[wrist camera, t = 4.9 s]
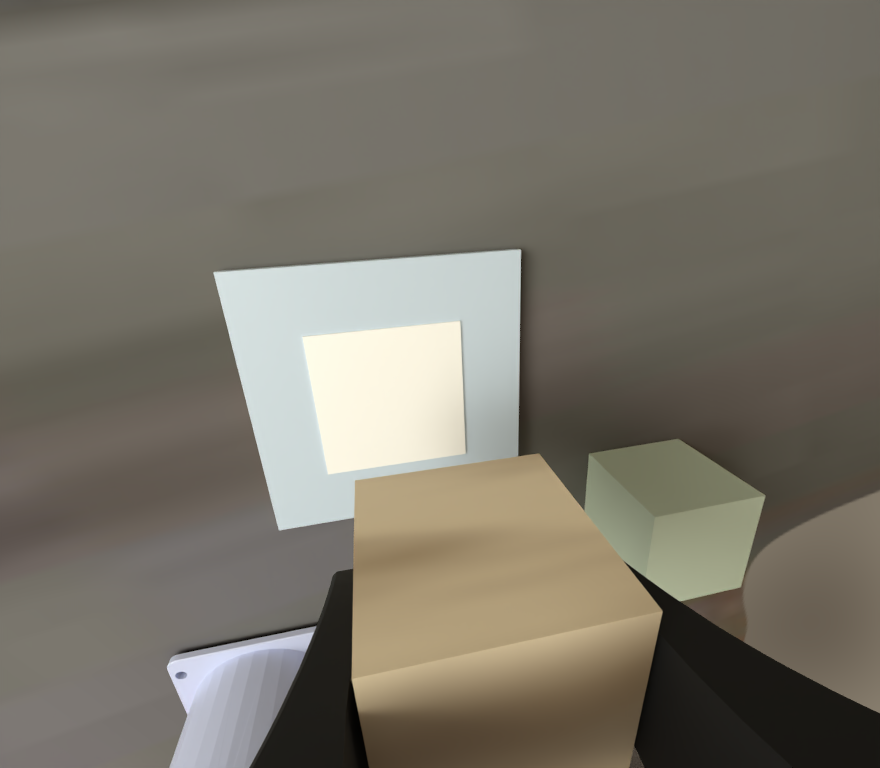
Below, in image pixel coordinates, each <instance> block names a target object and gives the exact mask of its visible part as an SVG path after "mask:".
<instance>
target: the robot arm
mask: <svg viewBox="0 0 880 768" xmlns="http://www.w3.org/2000/svg"><path fill="white" fill-rule="evenodd" d="M624 562H625V561H624ZM625 564H626V565H627V566H628V567H629V569H630V570H631V571H632V573H633V574H634V575H635V576H636V578H637V579H638V580H639V582H640V583H641V584H642V585H643V587H644V588H645V589H646V590H647V592H648V593H649V594H650V596H651V597H652V598H653V599H654V601H655V602H656V603H657V604H658V606H659V607H660V608H661V610H662V611H663V612H662V617H661V622H660V626H659V631H658V636H657V640H656V645H655V650H654V654H653V659H652V664H651V668H650V673H649V678H648V682H647V687H646V692H645V696H644V701H643V706H642V710H641V715H640V720H639V724H638V729H637V734H636V738H635V743H634V746H635V748H636V750H637V752H638V754H639V756H640V758H641V761H642V763H643V765H644V767H645V768H880V713H878V712H876V711H873V710H871V709H869V708H867V707H865V706H863V705H861V704H859V703H857V702H855V701H853V700H851V699H848V698H846V697H844V696H842V695H840V694H838V693H836V692H834V691H832V690H830V689H828V688H826V687H824V686H823V685H820V684H819V683H817V682H815V681H813V680H811V679H809V678H807V677H805V676H803V675H802V674H800V673H798V672H796V671H794V670H792V669H790V668H788V667H786V666H785V665H783V664H781V663H779V662H777V661H775V660H774V659H772V658H770V657H768V656H766V655H765V654H763V653H761V652H760V651H758V650H756V649H755V648H752V647H751V646H749V645H748V644H746V643H744V642H743V641H741V640H739V639H738V638H736V637H734V636H732V635H731V634H729V633H727V632H726V631H724V630H723V629H721V628H719V627H718V626H716V625H715V624H713V623H711V622H710V621H708V620H707V619H705V618H704V617H702V616H701V615H699V614H698V613H696V612H695V611H693V610H692V609H690V608H689V607H687V606H686V605H684V604H683V603H681V602H680V601H678V600H677V599H675V598H674V597H673V596H671V595H670V594H668V593H667V592H665V591H664V590H663V589H661V588H660V587H658V586H657V585H656V584H654V583H653V582H651V581H650V580H649V579H647V578H646V577H645V576H643V575H642V574H641V573H639V572H638V571H636V570H635V569H634V568H632V567H631V566H630V565H628V564H627V563H626V562H625ZM352 627H353V569H350V570H344V571H338V572H336V573H335V574H334V575H333V577H332V581H331V585H330V588H329V592H328V595H327V598H326V601H325V604H324V607H323V610H322V613H321V615H320V618H319V621H318V623H317V626H314V627H309V628H304V629H299V630H294V631H289V632H285V633H280V634H275V635H270V636H265V637H260V638H255V639H250V640H245V641H241V642H236V643H231V644H226V645H221V646H216V647H211V648H206V649H201V650H196V651H192V652H187V653H182V654H178V655H175V656H173V657H172V658H171V659H170V661H169V664H168V666H167V670H168V672H169V674H170V677H171V679H172V681H173V683H174V686H175V688H176V690H177V692H178V694H179V697H180V699H181V701H182V703H183V706H184V708H185V710H186V712H187V714H188V716H187V719H186V722H185V725H184V728H183V730H182V733H181V736H180V739H179V742H178V745H177V748H176V750H175V753H174V756H173V759H172V762H171V765H170V768H369V764H368V759H367V754H366V749H365V744H364V739H363V734H362V729H361V724H360V719H359V714H358V709H357V704H356V699H355V693H354V688H353V683H352Z"/></svg>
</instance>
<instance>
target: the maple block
mask: <svg viewBox="0 0 880 768" xmlns="http://www.w3.org/2000/svg"><path fill="white" fill-rule="evenodd" d="M662 612H663V611H662V610H661V608H660V607H659V606H658V604H657V603H656V602H655V601H654V599H653V598H652V597H651V596H650V594H649V593H648V592H647V590H646V589H645V588H644V587H643V585H642V584H641V583H640V582H639V580H638V579H637V578H636V576H635V575H634V574H633V573H632V571H631V570H630V569H629V567H628V566H627V565H626V564H625V562H624V561H623V560H622V559H621V557H620V556H619V555H618V553H617V552H616V551H615V550H614V548H613V547H612V546H611V545H610V543H609V542H608V541H607V539H606V538H605V537H604V536H603V534H602V533H601V532H600V531H599V529H598V528H597V527H596V525H595V524H594V523H593V522H592V520H591V519H590V518H589V516H588V515H587V514H586V513H585V511H584V510H583V509H582V508H581V506H580V505H579V504H578V502H577V501H576V500H575V499H574V497H573V496H572V495H571V494H570V492H569V491H568V490H567V488H566V487H565V486H564V485H563V483H562V482H561V481H560V480H559V478H558V477H557V476H556V474H555V473H554V472H553V471H552V469H551V468H550V467H549V465H548V464H547V463H546V462H545V460H544V459H543V458H542V457H541V455H540V454H539V453H538V454H531V455H525V456H518V457H511V458H504V459H497V460H490V461H484V462H477V463H470V464H463V465H456V466H450V467H443V468H436V469H429V470H422V471H416V472H409V473H402V474H395V475H388V476H381V477H375V478H368V479H361V480H355V501H354V564H353V627H352V683H353V688H354V693H355V699H356V704H357V709H358V714H359V719H360V724H361V729H362V734H363V739H364V744H365V749H366V754H367V759H368V764H369V768H629V766H630V762H631V757H632V752H633V748H634V743H635V738H636V734H637V729H638V724H639V720H640V715H641V710H642V706H643V701H644V696H645V692H646V687H647V682H648V678H649V673H650V668H651V664H652V659H653V654H654V650H655V645H656V640H657V636H658V631H659V626H660V622H661V617H662Z"/></svg>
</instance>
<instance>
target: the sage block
mask: <svg viewBox="0 0 880 768" xmlns="http://www.w3.org/2000/svg"><path fill="white" fill-rule="evenodd" d="M764 499H765V495H764V494H762V493H761V492H759V491H758V490H756V489H755V488H753V487H752V486H750V485H749V484H747V483H745V482H744V481H742V480H741V479H739V478H738V477H736V476H735V475H733V474H732V473H730V472H729V471H727V470H726V469H724V468H722V467H721V466H719V465H718V464H716V463H715V462H713V461H712V460H710V459H709V458H707V457H706V456H704V455H703V454H701V453H700V452H698V451H696V450H695V449H693V448H692V447H690V446H689V445H687V444H686V443H684V442H683V441H681V440H680V439H674V440H668V441H662V442H656V443H650V444H644V445H638V446H632V447H626V448H620V449H613V450H607V451H601V452H595V453H589V461H588V473H587V486H586V498H585V513H586V514H587V515H588V516H589V518H590V519H591V520H592V522H593V523H594V524H595V525H596V527H597V528H598V529H599V531H600V532H601V533H602V534H603V536H604V537H605V538H606V539H607V541H608V542H609V543H610V545H611V546H612V547H613V548H614V550H615V551H616V552H617V553H618V555H619V556H620V557H621V559H622V560H623V561H625V562H626V563H627V564H628V565H630V566H631V567H632V568H634V569H635V570H636V571H638V572H639V573H641V574H642V575H643V576H645V577H646V578H647V579H649V580H650V581H651V582H653V583H654V584H656V585H657V586H658V587H660V588H661V589H663V590H664V591H665V592H667V593H668V594H670V595H671V596H673V597H674V598H675V599H677V600H678V601H683V600H688V599H692V598H696V597H701V596H705V595H709V594H714V593H718V592H722V591H726V590H731V589H735V588H739V587H741V584H742V580H743V577H744V573H745V569H746V566H747V562H748V558H749V555H750V551H751V547H752V543H753V540H754V536H755V532H756V529H757V525H758V521H759V518H760V514H761V510H762V507H763V503H764Z"/></svg>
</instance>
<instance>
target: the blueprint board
mask: <svg viewBox="0 0 880 768" xmlns="http://www.w3.org/2000/svg"><path fill="white" fill-rule="evenodd" d="M214 276H215V280H216V284H217V288H218V292H219V296H220V300H221V304H222V308H223V312H224V316H225V320H226V324H227V328H228V331H229V335H230V339H231V343H232V347H233V351H234V355H235V359H236V363H237V367H238V371H239V375H240V379H241V383H242V387H243V391H244V395H245V398H246V402H247V406H248V410H249V414H250V418H251V422H252V426H253V430H254V434H255V438H256V442H257V446H258V450H259V454H260V458H261V462H262V465H263V469H264V473H265V477H266V481H267V485H268V489H269V493H270V497H271V501H272V505H273V509H274V513H275V517H276V521H277V525H278V529H279V530H284V529H290V528H296V527H302V526H308V525H313V524H319V523H325V522H331V521H337V520H343V519H349V518H354V501H355V480H361V479H368V478H375V477H381V476H388V475H395V474H402V473H409V472H416V471H422V470H429V469H436V468H443V467H450V466H456V465H463V464H470V463H477V462H484V461H490V460H497V459H504V458H511V457H518V430H519V360H520V289H521V249H506V250H493V251H479V252H466V253H452V254H439V255H426V256H412V257H399V258H385V259H372V260H358V261H345V262H331V263H318V264H304V265H291V266H277V267H264V268H250V269H237V270H223V271H217V272H214Z"/></svg>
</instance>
